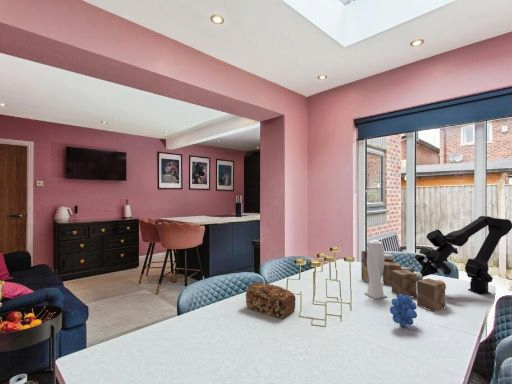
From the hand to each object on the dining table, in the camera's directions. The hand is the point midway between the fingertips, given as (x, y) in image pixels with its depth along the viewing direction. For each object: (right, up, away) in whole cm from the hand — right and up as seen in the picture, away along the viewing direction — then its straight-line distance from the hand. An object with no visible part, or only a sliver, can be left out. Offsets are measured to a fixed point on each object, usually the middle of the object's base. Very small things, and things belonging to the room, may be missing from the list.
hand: (420, 276), depth 133 cm
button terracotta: (-2, -2, -14) cm, 14 cm away
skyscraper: (-23, -8, -4) cm, 25 cm away
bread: (-73, -8, -19) cm, 76 cm away
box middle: (-8, -8, -1) cm, 12 cm away
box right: (-4, -8, -15) cm, 18 cm away
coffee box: (-16, -9, +19) cm, 26 cm away
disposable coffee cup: (-2, -9, +32) cm, 33 cm away
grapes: (-26, -8, -34) cm, 44 cm away
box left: (-6, -8, +15) cm, 19 cm away
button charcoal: (0, -3, +13) cm, 14 cm away
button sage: (-4, -3, 0) cm, 5 cm away
